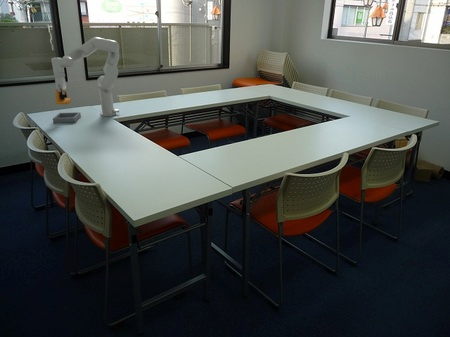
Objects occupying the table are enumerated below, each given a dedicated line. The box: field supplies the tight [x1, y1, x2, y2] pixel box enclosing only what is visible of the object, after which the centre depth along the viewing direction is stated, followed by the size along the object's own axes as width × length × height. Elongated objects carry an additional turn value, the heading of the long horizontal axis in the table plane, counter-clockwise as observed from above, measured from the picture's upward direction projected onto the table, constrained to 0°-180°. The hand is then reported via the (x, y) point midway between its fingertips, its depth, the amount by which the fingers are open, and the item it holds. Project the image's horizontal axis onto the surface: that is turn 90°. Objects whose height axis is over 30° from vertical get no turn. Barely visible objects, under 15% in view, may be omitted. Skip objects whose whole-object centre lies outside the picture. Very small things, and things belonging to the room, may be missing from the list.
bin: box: [52, 111, 82, 124], centre depth 286 cm, size 16×16×4 cm
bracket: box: [55, 89, 72, 105], centre depth 279 cm, size 11×7×12 cm, turn 176°
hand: (63, 98), depth 280 cm, fingers closed on bracket, 5 cm apart
